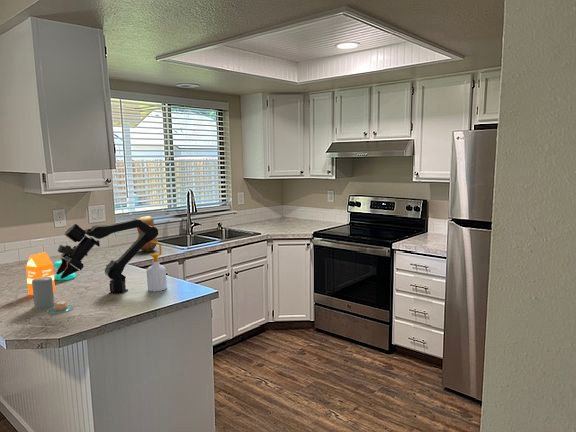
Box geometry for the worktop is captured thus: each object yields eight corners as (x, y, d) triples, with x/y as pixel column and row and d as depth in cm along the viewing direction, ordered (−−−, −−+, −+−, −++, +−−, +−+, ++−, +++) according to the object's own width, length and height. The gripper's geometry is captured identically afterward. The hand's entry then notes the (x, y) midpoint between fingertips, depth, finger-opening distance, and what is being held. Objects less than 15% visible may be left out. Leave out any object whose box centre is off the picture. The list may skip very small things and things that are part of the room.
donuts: (59, 264, 231) (50, 262, 236) (61, 282, 232) (51, 279, 238) (77, 260, 239) (68, 258, 244) (79, 277, 240) (69, 275, 246)
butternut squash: (133, 252, 303) (130, 216, 300) (149, 248, 314) (147, 214, 311) (146, 254, 296) (143, 218, 292) (161, 250, 306) (159, 215, 303)
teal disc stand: (79, 307, 192) (78, 299, 191) (63, 315, 182) (63, 307, 181) (59, 306, 193) (58, 298, 193) (42, 314, 184) (41, 306, 183)
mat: (62, 303, 196) (62, 303, 196) (46, 311, 187) (46, 310, 187) (43, 303, 198) (43, 302, 198) (26, 310, 188) (26, 310, 188)
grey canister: (58, 303, 195) (55, 277, 194) (46, 309, 188) (43, 281, 186) (43, 303, 197) (40, 276, 195) (30, 309, 189) (27, 281, 188)
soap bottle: (147, 288, 218) (143, 240, 214) (165, 285, 221) (162, 238, 218) (148, 292, 210) (145, 243, 206) (168, 290, 213) (165, 241, 210)
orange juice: (28, 295, 211) (24, 255, 208) (44, 289, 219) (40, 251, 216) (40, 296, 208) (35, 256, 205) (55, 291, 216) (51, 252, 213)
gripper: (64, 235, 203) (39, 262, 198) (73, 240, 188) (47, 269, 183) (83, 249, 209) (60, 275, 204) (93, 255, 194) (69, 284, 189)
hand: (59, 276), depth 195 cm, fingers open, 9 cm apart
